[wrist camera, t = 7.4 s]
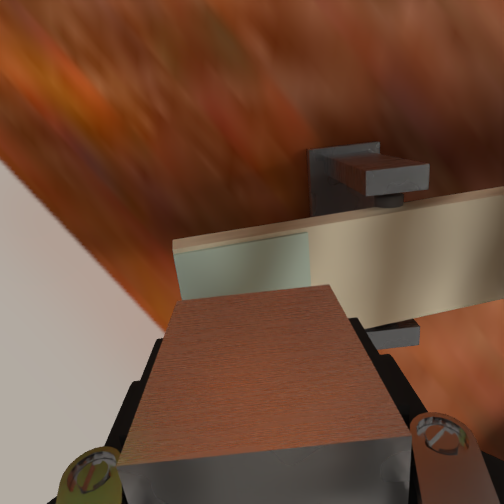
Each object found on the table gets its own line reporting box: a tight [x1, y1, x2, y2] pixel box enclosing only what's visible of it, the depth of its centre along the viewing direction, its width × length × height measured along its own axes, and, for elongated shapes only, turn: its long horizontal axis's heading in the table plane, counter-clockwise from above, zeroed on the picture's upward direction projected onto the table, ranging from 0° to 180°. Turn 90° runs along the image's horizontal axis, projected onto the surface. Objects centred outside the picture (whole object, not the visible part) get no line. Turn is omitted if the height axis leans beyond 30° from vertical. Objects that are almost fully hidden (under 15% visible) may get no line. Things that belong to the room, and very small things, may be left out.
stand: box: [307, 141, 430, 350], centre depth 23 cm, size 5×11×10 cm, turn 6°
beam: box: [173, 186, 504, 329], centre depth 18 cm, size 22×7×4 cm, turn 96°
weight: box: [116, 284, 412, 504], centre depth 10 cm, size 5×5×6 cm
